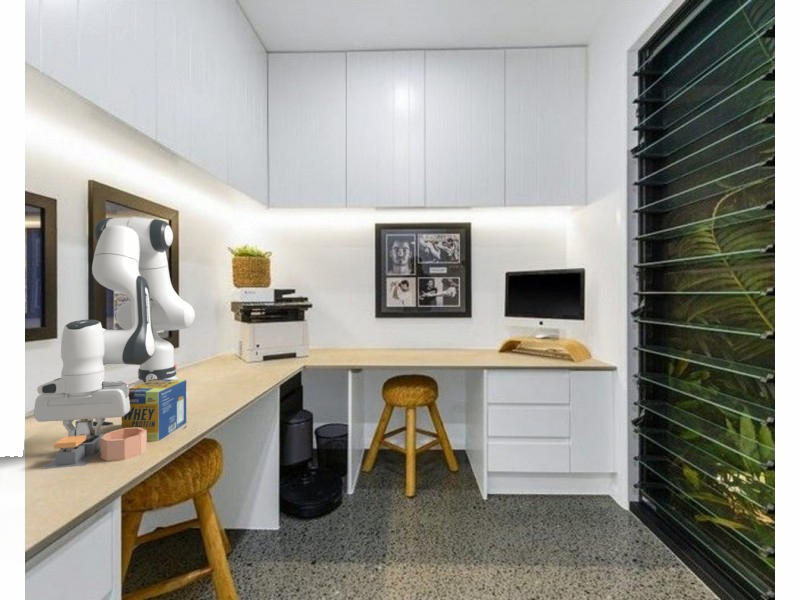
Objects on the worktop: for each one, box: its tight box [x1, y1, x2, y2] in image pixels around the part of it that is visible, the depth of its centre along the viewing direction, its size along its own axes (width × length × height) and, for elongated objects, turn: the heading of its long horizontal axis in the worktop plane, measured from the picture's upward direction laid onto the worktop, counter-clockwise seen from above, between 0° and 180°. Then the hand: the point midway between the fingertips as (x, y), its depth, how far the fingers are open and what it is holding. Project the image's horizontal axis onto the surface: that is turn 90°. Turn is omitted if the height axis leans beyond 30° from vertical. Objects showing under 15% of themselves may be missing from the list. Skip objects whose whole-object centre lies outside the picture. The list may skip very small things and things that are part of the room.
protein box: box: [121, 379, 187, 442], centre depth 117 cm, size 10×15×16 cm
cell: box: [74, 419, 94, 443], centre depth 102 cm, size 4×4×8 cm
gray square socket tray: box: [40, 433, 106, 470], centre depth 99 cm, size 13×9×4 cm
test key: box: [53, 435, 86, 451], centre depth 96 cm, size 4×4×5 cm
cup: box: [100, 427, 148, 462], centre depth 101 cm, size 9×9×6 cm
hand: (84, 435), depth 102 cm, fingers closed on cell, 4 cm apart
